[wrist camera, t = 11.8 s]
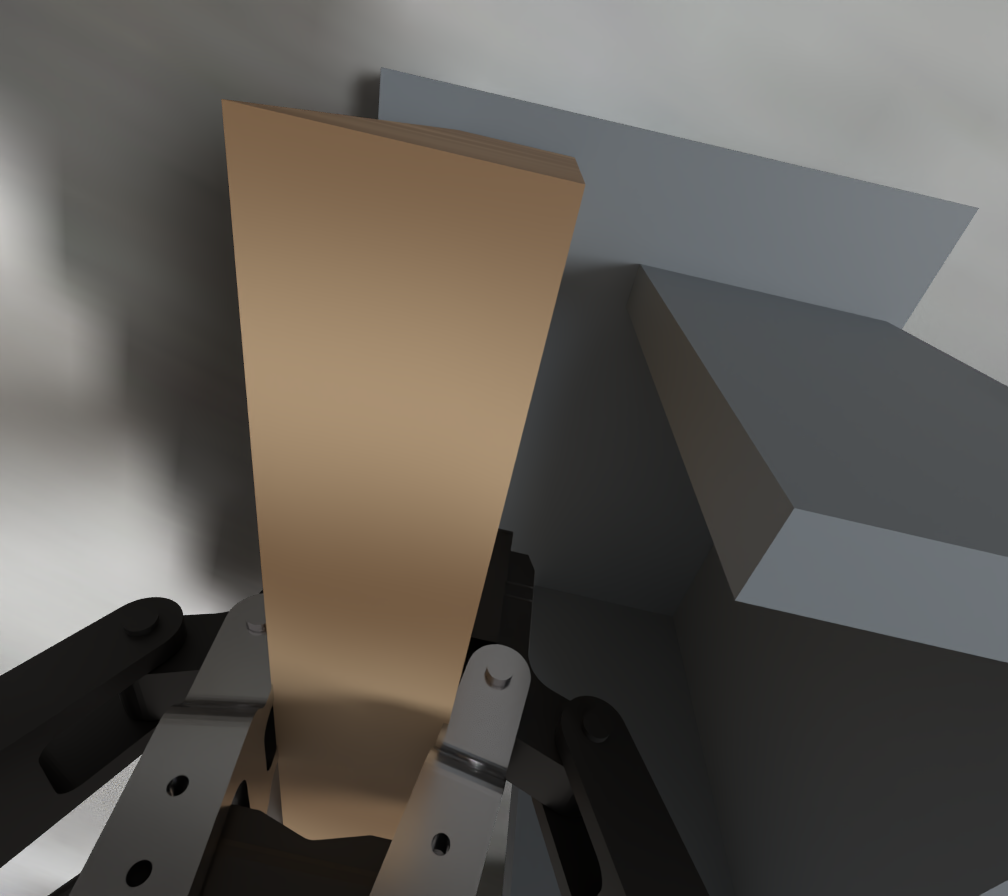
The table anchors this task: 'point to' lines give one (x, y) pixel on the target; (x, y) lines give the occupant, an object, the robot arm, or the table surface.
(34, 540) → the table surface
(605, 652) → the grey corner bracket
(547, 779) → the robot arm
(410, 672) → the door
